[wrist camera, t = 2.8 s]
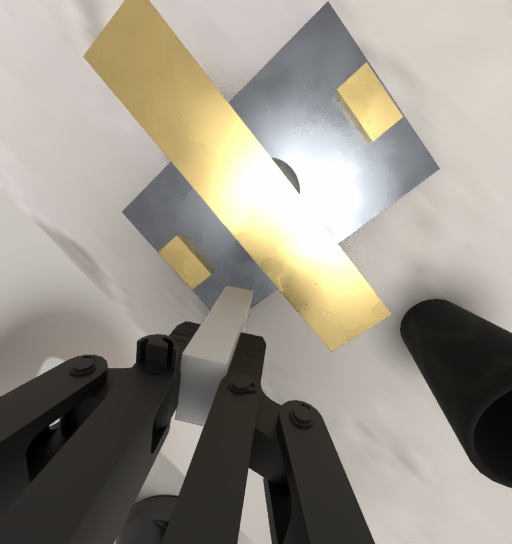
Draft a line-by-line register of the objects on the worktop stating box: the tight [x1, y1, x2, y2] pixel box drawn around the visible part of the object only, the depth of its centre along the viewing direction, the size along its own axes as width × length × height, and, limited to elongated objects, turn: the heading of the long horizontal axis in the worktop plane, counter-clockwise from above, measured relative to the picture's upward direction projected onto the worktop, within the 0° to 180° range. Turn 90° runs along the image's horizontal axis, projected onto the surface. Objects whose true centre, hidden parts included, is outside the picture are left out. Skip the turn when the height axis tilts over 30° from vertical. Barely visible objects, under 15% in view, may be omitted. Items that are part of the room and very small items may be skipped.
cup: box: [400, 299, 512, 488], centre depth 20 cm, size 8×8×12 cm
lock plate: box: [122, 2, 440, 310], centre depth 21 cm, size 22×14×6 cm, turn 130°
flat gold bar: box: [83, 0, 392, 352], centre depth 15 cm, size 3×16×7 cm, turn 40°
